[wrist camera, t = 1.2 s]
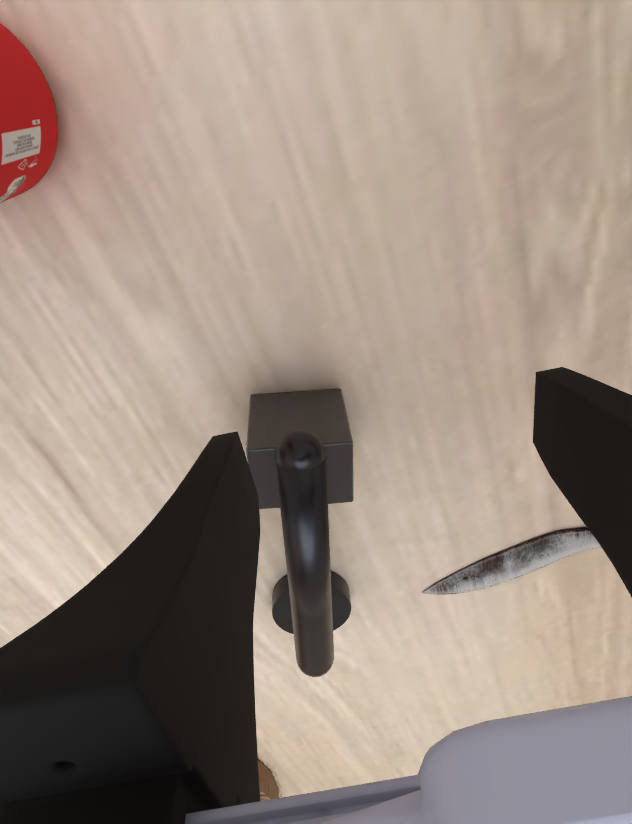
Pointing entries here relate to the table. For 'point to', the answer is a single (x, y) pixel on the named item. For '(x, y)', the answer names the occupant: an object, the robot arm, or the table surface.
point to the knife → (516, 561)
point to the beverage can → (23, 119)
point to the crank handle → (307, 554)
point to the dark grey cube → (291, 413)
